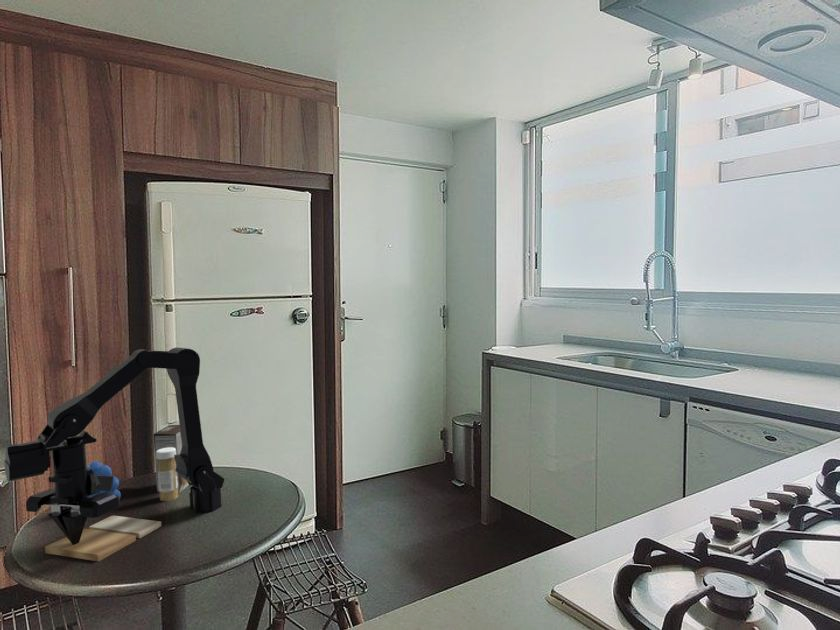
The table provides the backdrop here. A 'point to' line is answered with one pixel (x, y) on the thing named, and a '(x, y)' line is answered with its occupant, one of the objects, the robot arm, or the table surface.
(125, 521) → the ash board
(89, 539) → the oak plank
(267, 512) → the table surface
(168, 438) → the coffee box
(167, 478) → the sprinkles bottle
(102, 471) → the grapes
